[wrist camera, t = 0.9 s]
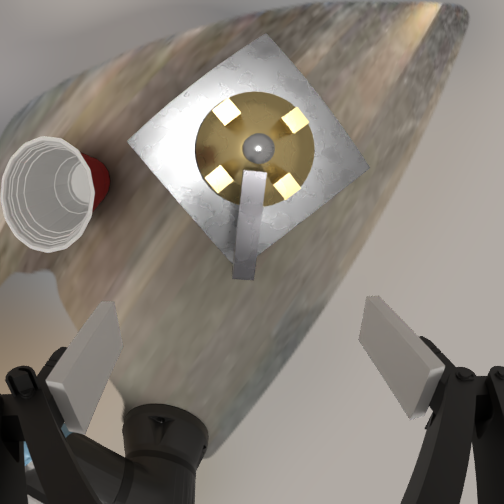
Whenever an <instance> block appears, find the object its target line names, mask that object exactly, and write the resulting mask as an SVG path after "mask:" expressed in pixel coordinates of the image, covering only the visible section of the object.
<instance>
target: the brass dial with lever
mask: <svg viewBox="0 0 504 504" xmlns="http://www.w3.org/2000/svg"><path fill="white" fill-rule="evenodd" d="M308 123H309V121H308V120H307V119H306V117H305V116H304V115H303V113H302V112H301V111H300V110H299V108H298V107H295V106H294V105H293V104H291V103H290V102H288V101H287V100H285V99H283V98H281V97H279V96H277V95H274V94H271V93H266V92H256V91H254V92H244V93H240V94H237V95H234V96H231V97H229V98H227V99H225V100H224V101H222V102H221V103H219V104H218V105H217V106H216V107H214V108H213V109H212V110H211V112H210V113H209V114H208V115H207V117H206V118H205V120H204V121H203V123H202V125H201V127H200V130H199V133H198V136H197V142H196V156H197V162H198V166H199V169H200V171H201V174H202V175H203V177H204V179H205V181H206V182H207V183H208V185H209V186H210V187H211V188H212V189H213V190H214V191H215V192H216V193H217V194H218V195H220V196H221V197H223V198H224V199H226V200H227V201H230V202H232V203H234V204H237V205H239V209H238V219H237V228H236V238H235V248H234V257H233V268H232V279H242V280H254V274H255V266H256V258H257V250H258V242H259V234H260V226H261V218H262V209H263V207H265V206H270V205H274V204H276V203H279V202H281V201H283V200H287V199H288V198H289V197H290V196H292V195H293V194H294V193H296V192H297V191H298V190H299V189H301V186H302V185H303V183H304V182H305V180H306V179H307V177H308V175H309V173H310V171H311V168H312V165H313V160H314V151H315V148H314V139H313V134H312V131H311V129H310V126H309V124H308Z"/></svg>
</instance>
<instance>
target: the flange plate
mask: <svg viewBox="0 0 504 504" xmlns="http://www.w3.org/2000/svg"><path fill="white" fill-rule="evenodd" d="M254 91H256V92H266V93H271V94H274V95H277V96H279V97H281V98H283V99H285V100H287V101H288V102H290V103H291V104H293V105H294V106H295V107H298V108H299V110H300V111H301V112H302V113H303V115H304V116H305V117H306V119H307V120H308V121H309V123H308V124H309V126H310V129H311V131H312V134H313V139H314V148H315V151H314V160H313V165H312V168H311V171H310V173H309V175H308V177H307V179H306V180H305V182H304V183H303V185H302V186H301V189H299V190H298V191H297V192H296V193H294V194H293V195H292V196H290V197H289V198H288V199H287V200H283V201H281V202H279V203H276V204H274V205H270V206H265V207H263V209H262V218H261V226H260V234H259V242H258V250H257V256H258V255H259V254H261V253H262V252H263V251H264V250H266V249H267V248H268V247H270V246H271V245H272V244H273V243H275V242H276V241H277V240H279V239H280V238H281V237H282V236H284V235H285V234H286V233H288V232H289V231H290V230H291V229H293V228H294V227H295V226H297V225H298V224H299V223H300V222H302V221H303V220H304V219H306V218H307V217H308V216H309V215H311V214H312V213H313V212H314V211H316V210H317V209H318V208H320V207H321V206H322V205H323V204H325V203H326V202H327V201H329V200H330V199H331V198H332V197H334V196H335V195H336V194H337V193H339V192H340V191H341V190H343V189H344V188H345V187H346V186H348V185H349V184H350V183H352V182H353V181H354V180H355V179H357V178H358V177H359V176H360V175H362V174H363V173H364V172H366V171H367V170H368V169H369V168H370V167H369V165H368V164H367V162H366V161H365V159H364V158H363V156H362V155H361V153H360V152H359V150H358V149H357V147H356V146H355V144H354V143H353V141H352V140H351V138H350V137H349V136H348V134H347V133H346V131H345V130H344V128H343V127H342V126H341V124H340V123H339V121H338V120H337V119H336V117H335V116H334V115H333V113H332V112H331V111H330V109H329V108H328V107H327V105H326V104H325V103H324V101H323V100H322V99H321V97H320V96H319V95H318V94H317V92H316V91H315V90H314V88H313V87H312V86H311V85H310V83H309V82H308V81H307V80H306V78H305V77H304V76H303V75H302V74H301V72H300V71H299V70H298V69H297V68H296V66H295V65H294V64H293V63H292V62H291V61H290V59H289V58H288V57H287V56H286V55H285V54H284V53H283V51H282V50H281V49H280V48H279V47H278V46H277V45H276V44H275V42H274V41H273V40H272V39H271V38H270V37H269V36H268V35H267V34H264V35H262V36H261V37H259V38H258V39H256V40H255V41H253V42H251V43H250V44H248V45H247V46H245V47H244V48H242V49H241V50H239V51H238V52H236V53H235V54H233V55H232V56H231V57H229V58H228V59H226V60H225V61H223V62H222V63H221V64H219V65H218V66H216V67H215V68H214V69H212V70H211V71H210V72H208V73H207V74H206V75H204V76H203V77H202V78H200V79H199V80H198V81H196V82H195V83H194V84H193V85H191V86H190V87H189V88H187V89H186V90H185V91H184V92H182V93H181V94H180V95H179V96H178V97H176V98H175V99H174V100H173V101H171V102H170V103H169V104H168V105H167V106H166V107H164V108H163V109H162V110H161V111H160V112H159V113H157V114H156V115H155V116H154V117H153V118H152V119H151V120H149V121H148V122H147V123H146V124H145V125H144V126H143V127H142V128H141V129H140V130H138V131H137V132H136V133H135V134H134V135H133V136H132V137H131V138H130V139H129V140H128V141H127V142H128V143H129V144H130V146H131V147H132V148H133V149H134V150H135V152H136V153H137V154H138V155H139V156H140V157H141V159H142V160H143V161H144V162H145V163H146V165H147V166H148V167H149V168H150V169H151V171H152V172H153V173H154V174H155V175H156V176H157V178H158V179H159V180H160V181H161V182H162V183H163V185H164V186H165V187H166V188H167V189H168V190H169V192H170V193H171V194H172V195H173V196H174V197H175V199H176V200H177V201H178V202H179V203H180V204H181V206H182V207H183V208H184V209H185V210H186V211H187V213H188V214H189V215H190V216H191V217H192V218H193V219H194V221H195V222H196V223H197V224H198V225H199V226H200V228H201V229H202V230H203V231H204V232H205V233H206V234H207V236H208V237H209V238H210V239H211V240H212V241H213V242H214V244H215V245H216V246H217V247H218V248H219V249H220V250H221V252H222V253H223V254H224V255H225V256H226V257H227V258H228V259H229V261H230V262H231V263H232V264H233V257H234V248H235V238H236V228H237V219H238V209H239V205H237V204H234V203H232V202H230V201H227V200H226V199H224V198H223V197H221V196H220V195H218V194H217V193H216V192H215V191H214V190H213V189H212V188H211V187H210V186H209V185H208V183H207V182H206V181H205V179H204V177H203V175H202V174H201V171H200V169H199V166H198V162H197V156H196V142H197V136H198V133H199V130H200V127H201V125H202V123H203V121H204V120H205V118H206V117H207V115H208V114H209V113H210V112H211V110H212V109H213V108H214V107H216V106H217V105H218V104H219V103H221V102H222V101H224V100H225V99H227V98H229V97H231V96H234V95H237V94H240V93H244V92H254Z"/></svg>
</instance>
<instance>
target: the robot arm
mask: <svg viewBox="0 0 504 504" xmlns="http://www.w3.org/2000/svg"><path fill="white" fill-rule="evenodd" d="M359 342H360V343H361V345H362V346H363V348H364V349H365V351H366V352H367V354H368V355H369V356H370V358H371V360H372V361H373V363H374V364H375V366H376V367H377V369H378V370H379V372H380V373H381V375H382V376H383V378H384V379H385V381H386V383H387V384H388V386H389V388H390V389H391V391H392V392H393V394H394V395H395V397H396V398H397V400H398V402H399V403H400V405H401V406H402V408H403V410H404V411H405V413H406V414H407V416H408V418H409V419H410V420H412V419H415V418H419V417H422V416H424V415H425V413H426V411H427V409H428V407H429V406H430V408H431V409H432V410H433V413H432V415H431V417H430V419H429V421H428V423H427V425H426V427H425V429H427V431H426V434H425V438H424V441H423V444H422V448H421V451H420V454H419V457H418V460H417V463H416V465H415V468H414V471H413V474H412V476H411V479H410V482H409V484H408V487H407V489H406V492H405V494H404V497H403V499H402V501H401V504H459V503H460V499H461V495H462V491H463V487H464V482H465V477H466V472H467V467H468V461H469V456H470V450H471V443H472V445H473V453H474V460H475V471H476V481H477V497H478V504H504V367H501V366H494V367H492V368H491V369H490V371H489V373H488V376H476V375H475V373H474V372H473V371H471V370H470V369H467V368H465V367H455V366H454V365H453V364H452V363H451V362H450V360H449V359H448V358H447V357H446V356H445V355H444V354H443V353H441V351H440V350H439V349H438V348H437V347H436V346H435V345H434V344H433V343H432V342H431V341H430V340H428V339H426V338H425V337H423V336H420V337H418V336H417V335H416V334H415V333H414V331H413V330H412V329H411V328H410V327H409V326H408V325H407V324H406V323H405V322H404V321H403V320H402V319H401V318H400V317H399V316H398V315H397V314H396V313H395V312H394V311H393V310H392V309H391V308H390V307H389V306H388V305H387V304H386V303H385V302H384V301H383V300H382V299H381V297H379V296H371V297H370V296H369V297H366V302H365V308H364V314H363V320H362V326H361V330H360V335H359ZM122 348H123V343H122V338H121V333H120V328H119V323H118V318H117V313H116V307H115V302H109V301H101V302H100V304H99V305H98V306H97V308H96V309H95V310H94V312H93V313H92V314H91V316H90V317H89V318H88V320H87V321H86V323H85V324H84V325H83V327H82V328H81V329H80V331H79V332H78V334H77V335H76V336H75V338H74V339H73V341H72V342H71V343H70V345H69V346H68V347H61V348H60V349H58V350H57V351H55V352H54V353H53V354H52V356H51V357H50V359H49V361H47V363H46V364H45V366H44V367H43V368H42V370H41V371H40V373H39V374H38V375H37V376H36V374H35V371H34V370H33V369H32V368H31V367H29V366H19V367H16V368H14V369H12V370H11V371H9V372H8V374H7V375H6V380H5V381H6V383H7V385H8V387H9V389H10V391H11V393H12V394H3V395H1V394H0V504H195V479H196V470H197V468H198V466H199V464H200V462H201V460H202V458H203V456H204V454H205V452H206V450H207V447H208V432H207V429H206V427H205V426H204V424H203V423H202V422H201V421H200V420H199V419H197V418H196V417H195V416H193V415H192V414H190V413H188V412H186V411H184V410H181V409H179V408H175V407H172V406H167V405H159V404H150V405H143V406H139V407H136V408H134V409H133V410H131V411H130V412H129V413H128V414H127V416H126V418H125V421H124V424H123V429H122V433H123V437H124V448H125V457H123V456H121V455H119V454H117V453H115V452H113V451H111V450H110V449H108V448H106V447H104V446H102V445H100V444H99V443H97V442H95V441H94V440H92V439H90V438H88V437H87V436H85V435H83V434H86V431H87V428H88V426H89V424H90V421H91V419H92V416H93V414H94V411H95V409H96V406H97V404H98V402H99V400H100V397H101V395H102V392H103V390H104V388H105V386H106V383H107V381H108V379H109V377H110V374H111V372H112V370H113V368H114V365H115V363H116V361H117V359H118V357H119V355H120V352H121V350H122ZM64 422H65V423H64Z"/></svg>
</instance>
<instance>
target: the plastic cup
mask: <svg viewBox="0 0 504 504" xmlns="http://www.w3.org/2000/svg"><path fill="white" fill-rule="evenodd" d="M109 185H110V178H109V172H108V170H107V169H106V167H105V166H104V164H103V163H101V162H100V161H98V160H97V159H95V158H92V157H90V156H88V155H86V154H83V153H80V152H79V150H78V149H76V148H75V147H73V146H72V145H70V144H69V143H67V142H66V141H65V140H63V139H62V138H55V137H46V136H41V137H39V138H36V139H34V140H31V141H29V142H26V143H24V144H23V145H22V146H21V147H20V148H19V149H18V150H17V151H16V153H15V154H14V155H13V156H12V157H11V158H10V160H9V163H8V165H7V167H6V169H5V172H4V174H3V177H2V185H1V198H0V199H1V204H2V208H3V213H4V217H5V220H6V222H7V224H8V225H9V227H10V229H11V230H12V232H13V233H14V235H15V237H16V238H18V239H19V240H20V241H21V242H23V243H24V244H25V245H27V246H28V247H29V248H31V249H34V250H38V251H42V252H47V253H50V252H54V251H59V250H63V249H66V248H68V247H69V246H70V245H71V244H72V243H74V242H75V241H76V240H77V239H79V238H80V237H81V236H82V234H83V232H84V230H85V228H86V226H87V224H88V222H89V220H90V219H91V217H92V212H93V211H94V210H95V209H96V208H97V206H98V205H99V203H100V202H101V201H102V200H103V199H104V198H105V196H106V194H107V192H108V190H109Z"/></svg>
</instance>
